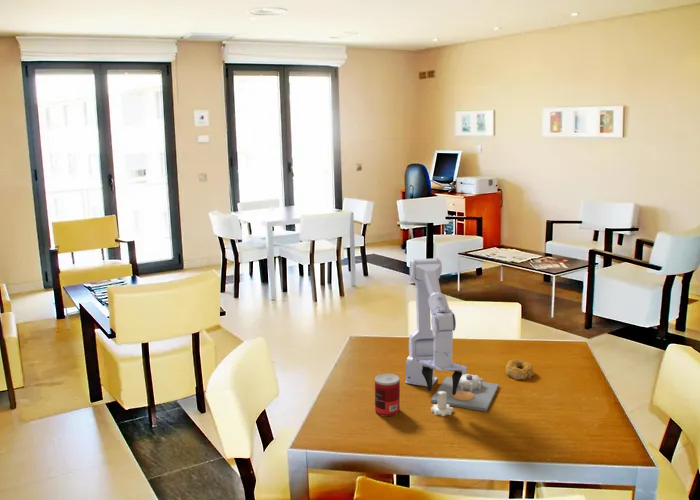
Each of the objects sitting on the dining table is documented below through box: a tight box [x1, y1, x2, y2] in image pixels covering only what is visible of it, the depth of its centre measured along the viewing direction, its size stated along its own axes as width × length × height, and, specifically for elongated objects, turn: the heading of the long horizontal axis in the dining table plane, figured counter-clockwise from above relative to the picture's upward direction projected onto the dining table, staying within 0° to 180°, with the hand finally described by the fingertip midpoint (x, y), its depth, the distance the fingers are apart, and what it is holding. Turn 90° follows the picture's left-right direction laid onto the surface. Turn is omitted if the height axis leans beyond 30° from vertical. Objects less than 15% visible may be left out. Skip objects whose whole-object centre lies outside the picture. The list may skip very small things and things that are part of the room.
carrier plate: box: [430, 373, 500, 412], centre depth 214 cm, size 18×20×4 cm
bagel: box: [505, 358, 535, 381], centre depth 229 cm, size 10×11×5 cm
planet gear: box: [430, 391, 454, 417], centre depth 202 cm, size 6×6×6 cm
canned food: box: [374, 373, 401, 417], centre depth 202 cm, size 8×8×11 cm
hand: (442, 391), depth 201 cm, fingers open, 7 cm apart
